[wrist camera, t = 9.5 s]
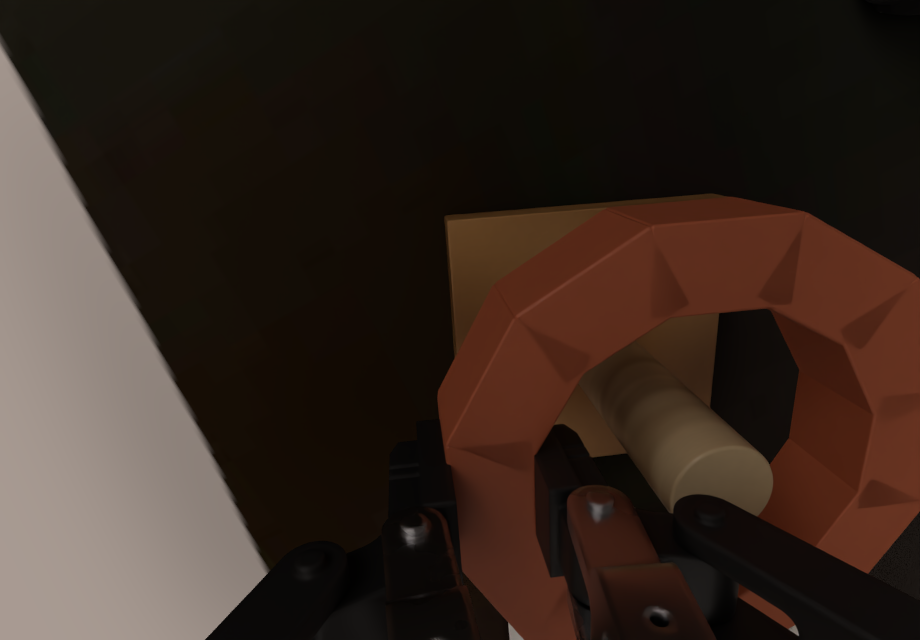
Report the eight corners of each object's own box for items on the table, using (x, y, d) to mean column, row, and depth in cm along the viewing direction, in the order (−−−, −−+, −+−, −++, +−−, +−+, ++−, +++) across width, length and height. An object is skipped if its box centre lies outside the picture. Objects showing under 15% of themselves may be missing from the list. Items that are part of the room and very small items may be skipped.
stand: (443, 215, 20) (487, 299, 10) (712, 193, 20) (989, 251, 11) (462, 456, 23) (507, 690, 13) (692, 429, 24) (889, 632, 14)
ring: (421, 222, 13) (427, 245, 10) (901, 182, 14) (1009, 193, 11) (457, 615, 17) (466, 698, 14) (826, 563, 18) (895, 632, 15)
